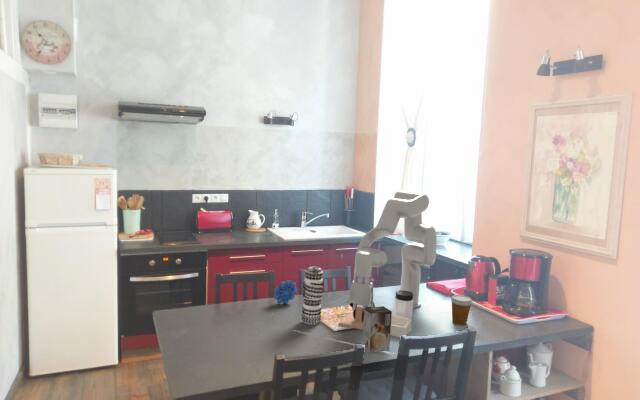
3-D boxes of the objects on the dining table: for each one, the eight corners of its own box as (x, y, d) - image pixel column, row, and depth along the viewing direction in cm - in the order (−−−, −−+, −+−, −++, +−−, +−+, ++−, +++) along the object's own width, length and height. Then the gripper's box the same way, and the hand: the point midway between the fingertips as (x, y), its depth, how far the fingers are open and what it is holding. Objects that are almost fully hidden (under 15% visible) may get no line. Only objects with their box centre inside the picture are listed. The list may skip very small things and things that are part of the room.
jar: (401, 322, 217) (403, 296, 215) (389, 316, 223) (391, 291, 222) (415, 319, 222) (417, 294, 220) (403, 313, 228) (405, 289, 227)
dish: (384, 324, 213) (385, 313, 212) (410, 329, 208) (411, 318, 207) (376, 333, 202) (377, 322, 201) (404, 339, 197) (405, 328, 196)
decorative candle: (324, 321, 212) (328, 267, 209) (315, 328, 203) (319, 271, 200) (306, 317, 215) (309, 263, 213) (297, 323, 207) (300, 268, 204)
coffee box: (381, 344, 191) (384, 305, 189) (389, 350, 185) (392, 311, 183) (361, 346, 187) (364, 307, 186) (369, 353, 182) (372, 313, 180)
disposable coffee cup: (445, 322, 220) (447, 297, 218) (454, 317, 227) (457, 293, 225) (464, 328, 213) (466, 302, 212) (473, 323, 220) (476, 298, 219)
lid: (349, 314, 220) (350, 300, 219) (378, 320, 215) (379, 306, 214) (338, 324, 207) (339, 309, 207) (369, 331, 202) (370, 315, 201)
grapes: (293, 300, 238) (295, 277, 236) (297, 304, 231) (299, 281, 230) (271, 301, 234) (272, 278, 232) (274, 306, 227) (276, 282, 226)
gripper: (382, 280, 209) (379, 320, 211) (347, 274, 215) (345, 313, 217) (377, 284, 202) (374, 325, 204) (342, 278, 208) (339, 318, 211)
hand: (359, 318), depth 211 cm, fingers closed on lid, 3 cm apart
